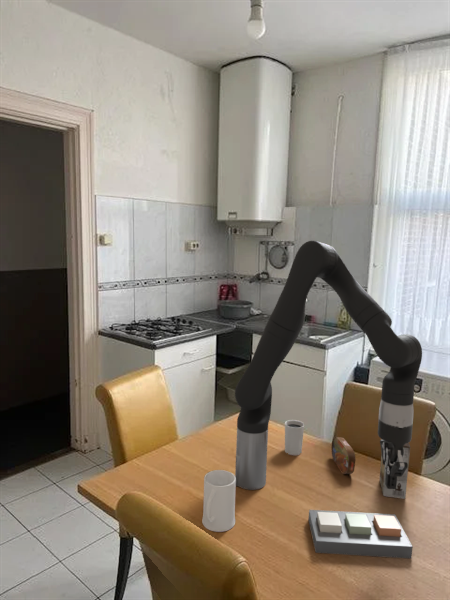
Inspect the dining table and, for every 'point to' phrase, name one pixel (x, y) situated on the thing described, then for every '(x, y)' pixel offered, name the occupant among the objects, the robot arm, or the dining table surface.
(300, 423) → the white cup
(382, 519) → the terracotta button
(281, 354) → the robot arm
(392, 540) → the button panel
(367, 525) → the sage button
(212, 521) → the mug
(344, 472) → the tin
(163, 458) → the dining table surface
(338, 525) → the offwhite button
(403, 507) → the dining table surface
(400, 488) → the coffee box
